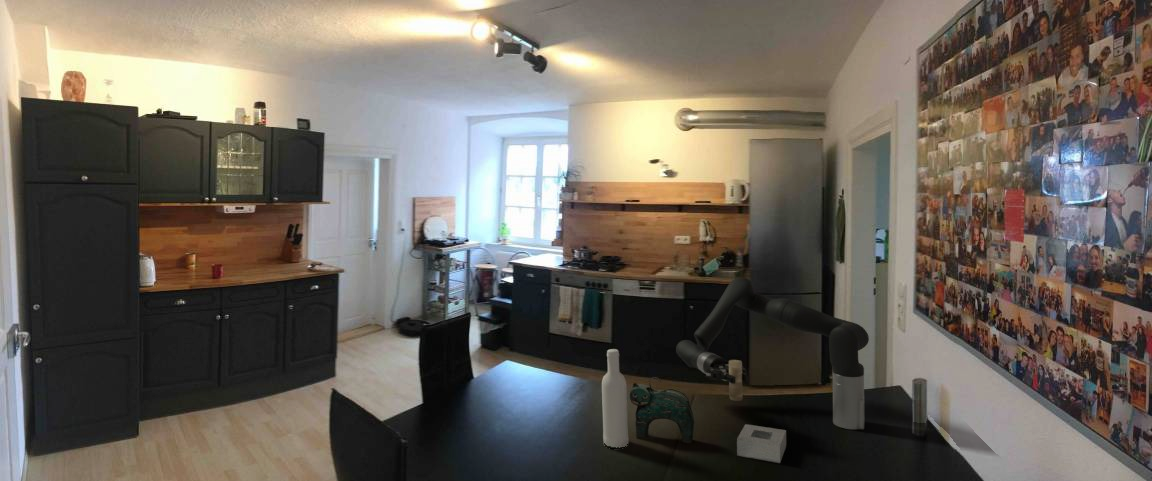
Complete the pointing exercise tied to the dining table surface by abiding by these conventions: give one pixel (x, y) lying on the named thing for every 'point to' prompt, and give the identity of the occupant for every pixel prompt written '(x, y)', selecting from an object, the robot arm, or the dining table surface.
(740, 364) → the wooden peg
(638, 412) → the ceramic cat
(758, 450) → the socket block
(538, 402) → the dining table surface
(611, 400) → the bottle
